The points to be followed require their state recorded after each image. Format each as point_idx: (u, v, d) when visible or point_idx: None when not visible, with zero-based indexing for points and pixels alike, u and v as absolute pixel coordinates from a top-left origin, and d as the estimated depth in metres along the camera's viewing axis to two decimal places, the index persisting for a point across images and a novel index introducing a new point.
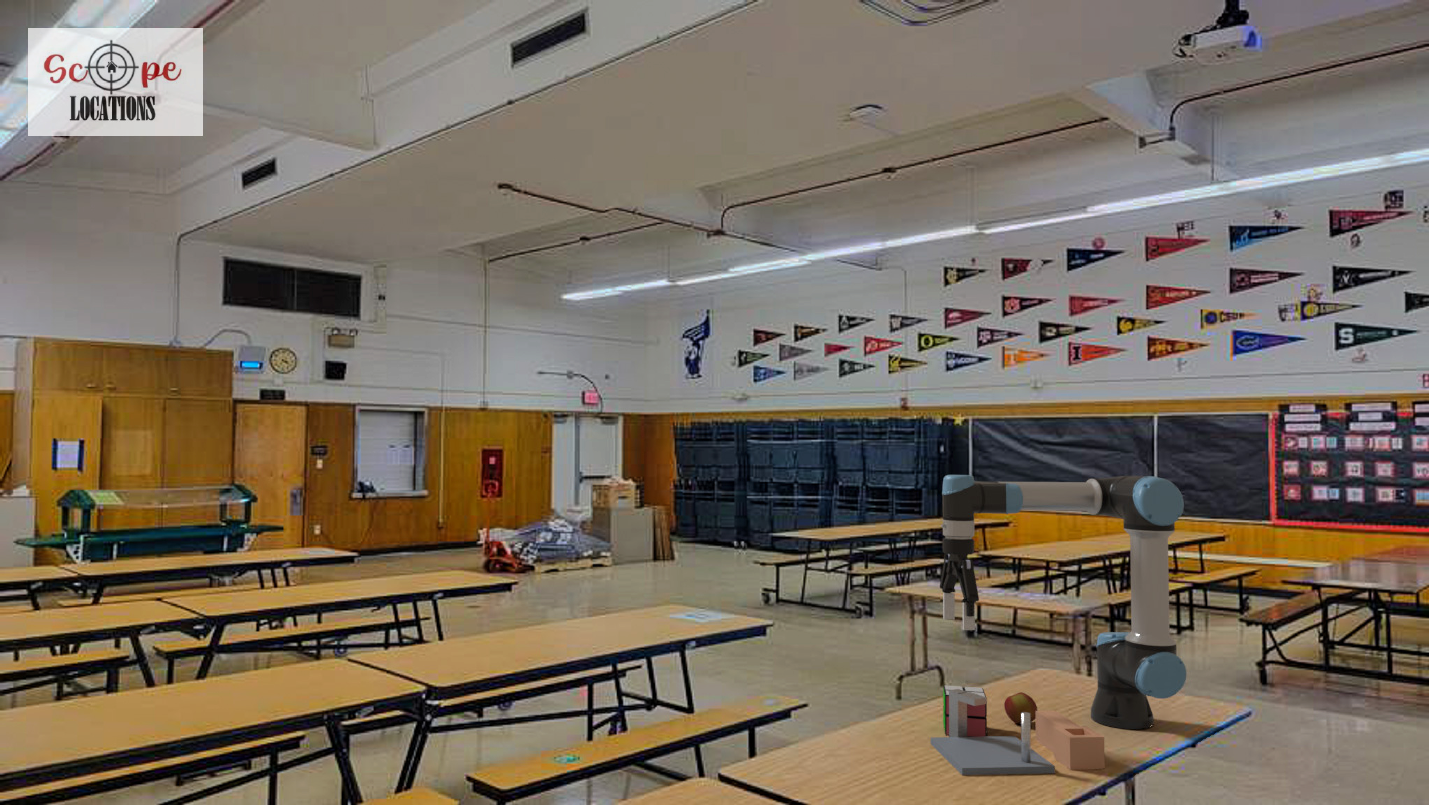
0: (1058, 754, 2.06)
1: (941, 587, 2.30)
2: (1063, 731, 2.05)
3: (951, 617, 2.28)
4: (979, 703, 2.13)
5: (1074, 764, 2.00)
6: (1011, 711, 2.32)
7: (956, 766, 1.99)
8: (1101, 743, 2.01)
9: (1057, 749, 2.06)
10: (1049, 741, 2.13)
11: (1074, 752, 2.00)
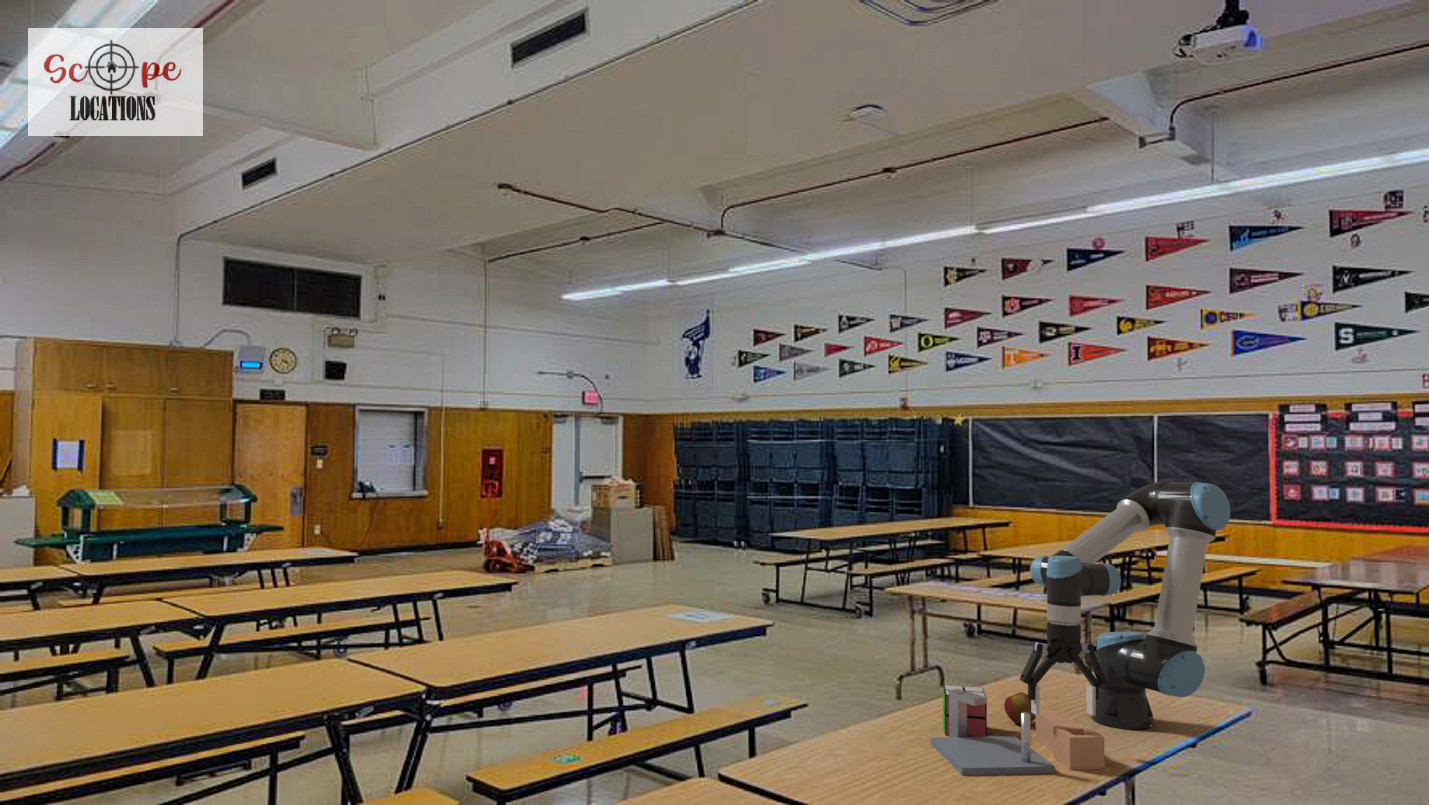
0: (1058, 754, 2.06)
1: None
2: (1063, 731, 2.05)
3: (1090, 712, 2.11)
4: (979, 703, 2.13)
5: (1074, 764, 2.00)
6: (1011, 711, 2.32)
7: (956, 766, 1.99)
8: (1101, 743, 2.01)
9: (1057, 749, 2.06)
10: (1049, 741, 2.13)
11: (1074, 752, 2.00)
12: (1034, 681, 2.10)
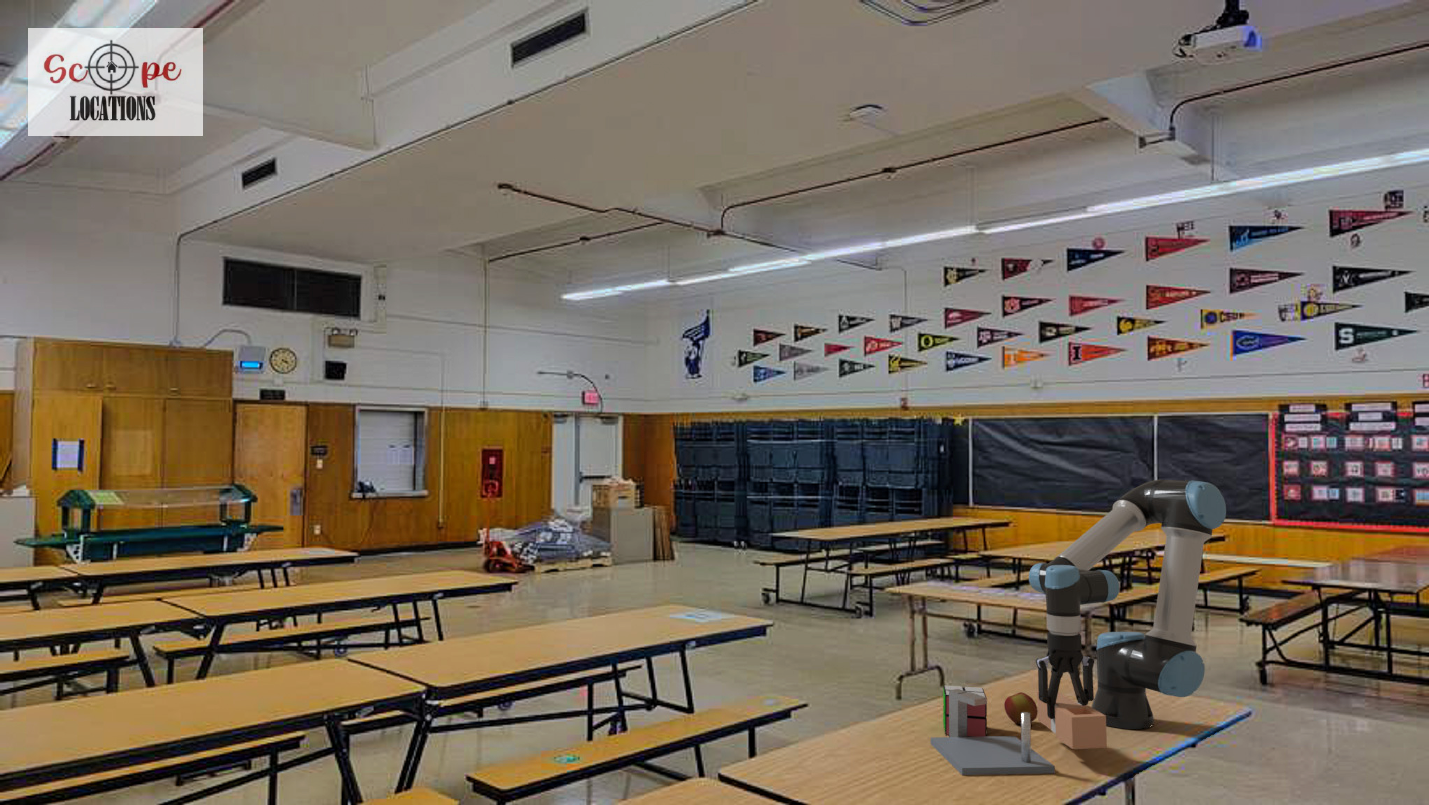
0: (1060, 734, 2.06)
1: None
2: (1065, 711, 2.05)
3: None
4: (979, 703, 2.13)
5: (1076, 744, 2.01)
6: (1011, 711, 2.32)
7: (956, 766, 1.99)
8: (1103, 722, 2.01)
9: (1059, 729, 2.07)
10: None
11: (1076, 732, 2.01)
12: (1052, 700, 2.10)
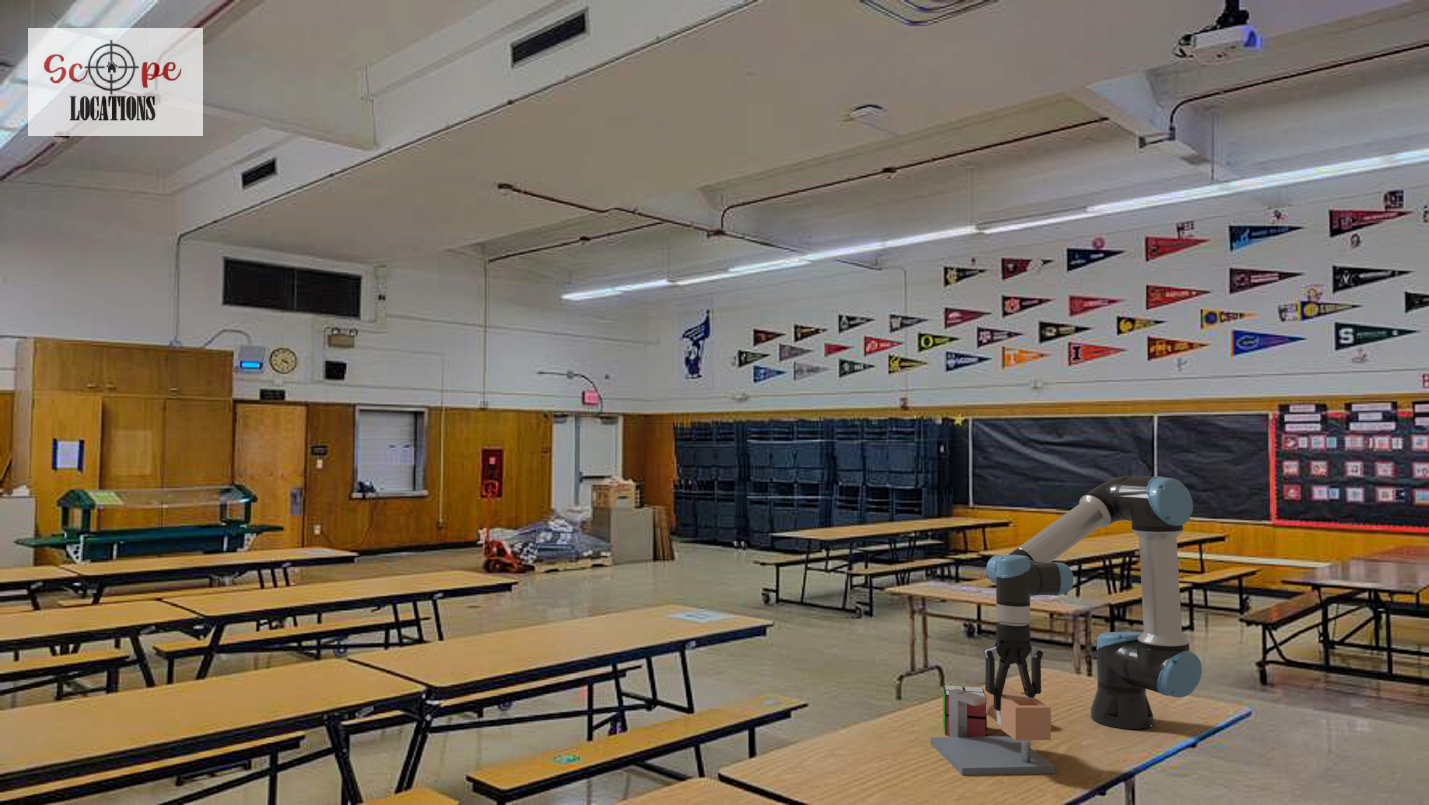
0: (1005, 725, 2.02)
1: (1031, 688, 2.10)
2: (1010, 702, 2.01)
3: None
4: (979, 703, 2.13)
5: (1020, 735, 1.97)
6: None
7: (956, 766, 1.99)
8: (1047, 714, 1.98)
9: (1004, 720, 2.03)
10: None
11: (1020, 722, 1.97)
12: (998, 692, 2.06)
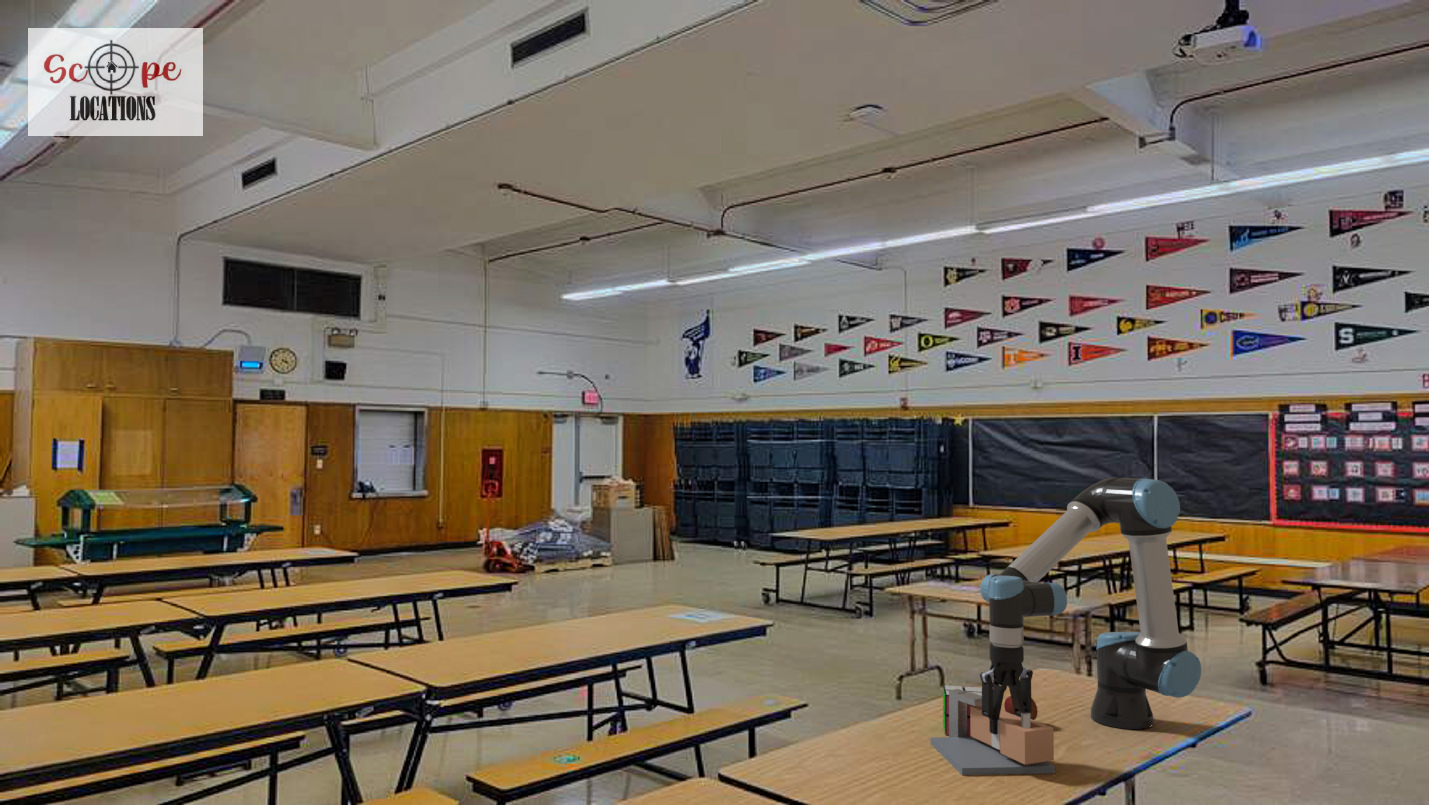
0: (1007, 749, 2.01)
1: None
2: (1013, 725, 2.00)
3: None
4: (979, 703, 2.13)
5: (1028, 758, 1.96)
6: (1011, 711, 2.32)
7: (956, 766, 1.99)
8: (1051, 734, 1.99)
9: (1006, 744, 2.01)
10: (990, 736, 2.09)
11: (1028, 746, 1.96)
12: (996, 715, 2.05)
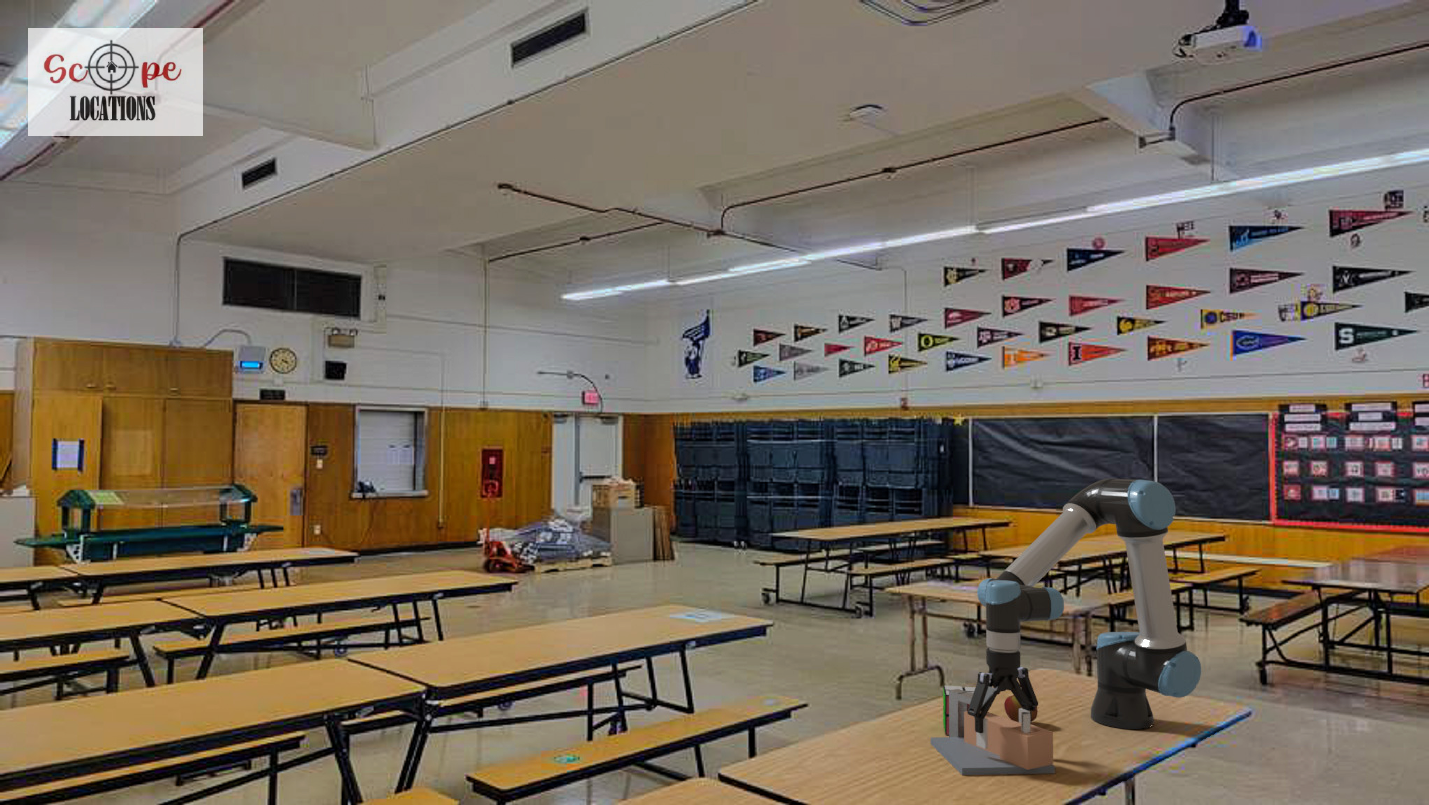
0: (1008, 755, 2.00)
1: None
2: (1014, 731, 2.00)
3: None
4: None
5: (1030, 763, 1.96)
6: (1011, 711, 2.32)
7: (956, 766, 1.99)
8: (1050, 738, 1.99)
9: (1006, 750, 2.01)
10: None
11: (1030, 751, 1.96)
12: (983, 714, 2.02)
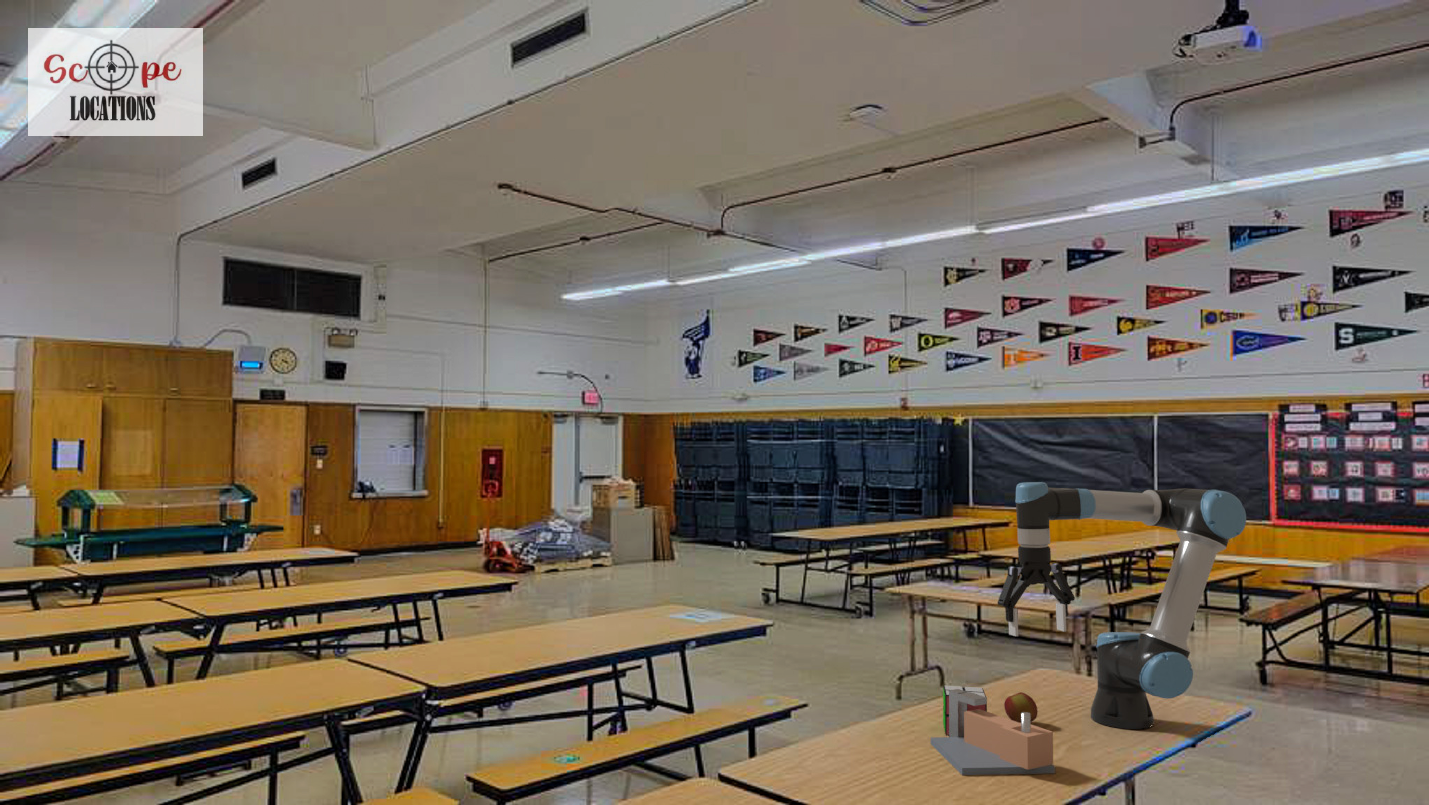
0: (1008, 755, 2.00)
1: None
2: (1014, 731, 2.00)
3: (1061, 629, 2.21)
4: (979, 703, 2.13)
5: (1030, 763, 1.96)
6: (1011, 711, 2.32)
7: (956, 766, 1.99)
8: (1050, 738, 1.99)
9: (1006, 750, 2.01)
10: (986, 742, 2.08)
11: (1030, 751, 1.96)
12: (1012, 604, 2.17)
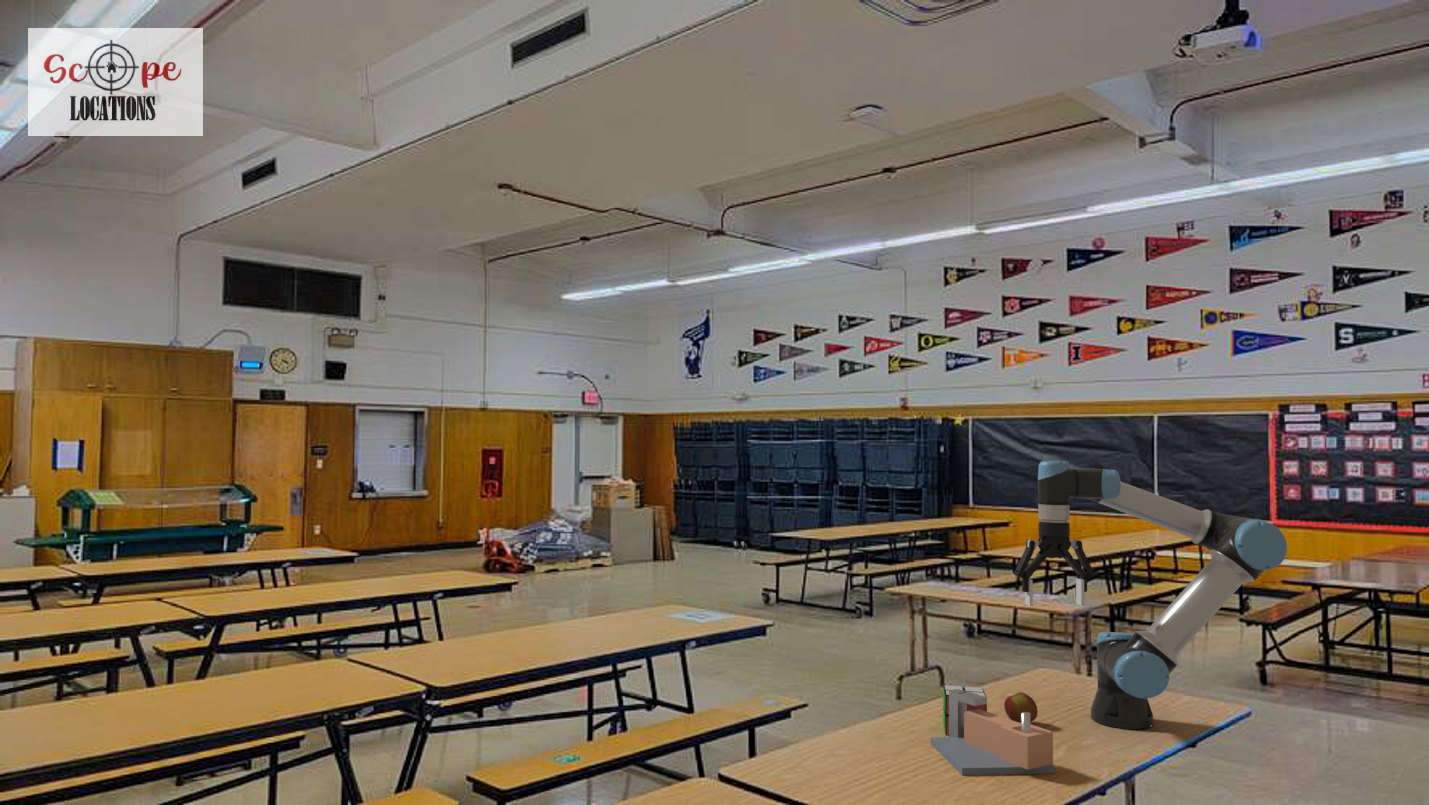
0: (1008, 755, 2.00)
1: None
2: (1014, 731, 2.00)
3: (1079, 603, 2.29)
4: (979, 703, 2.13)
5: (1030, 763, 1.96)
6: (1011, 711, 2.32)
7: (956, 766, 1.99)
8: (1050, 738, 1.99)
9: (1006, 750, 2.01)
10: (986, 742, 2.08)
11: (1030, 751, 1.96)
12: (1027, 575, 2.28)
